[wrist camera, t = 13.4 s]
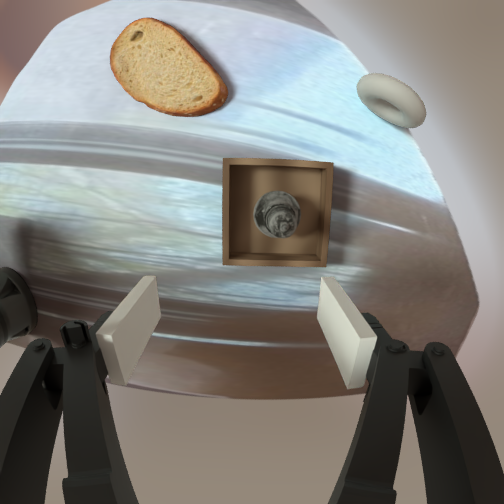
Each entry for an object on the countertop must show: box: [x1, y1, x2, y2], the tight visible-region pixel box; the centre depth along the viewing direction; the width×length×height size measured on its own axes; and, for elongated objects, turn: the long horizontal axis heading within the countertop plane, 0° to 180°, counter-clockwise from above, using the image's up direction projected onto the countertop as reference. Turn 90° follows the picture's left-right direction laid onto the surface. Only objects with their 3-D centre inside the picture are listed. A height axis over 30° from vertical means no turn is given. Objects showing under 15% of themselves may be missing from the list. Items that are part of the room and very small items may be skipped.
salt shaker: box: [253, 191, 301, 238], centre depth 33 cm, size 6×6×12 cm
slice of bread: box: [110, 18, 228, 117], centre depth 32 cm, size 18×18×4 cm
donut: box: [357, 73, 426, 128], centre depth 30 cm, size 10×4×10 cm, turn 62°
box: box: [222, 158, 333, 267], centre depth 37 cm, size 14×14×4 cm
